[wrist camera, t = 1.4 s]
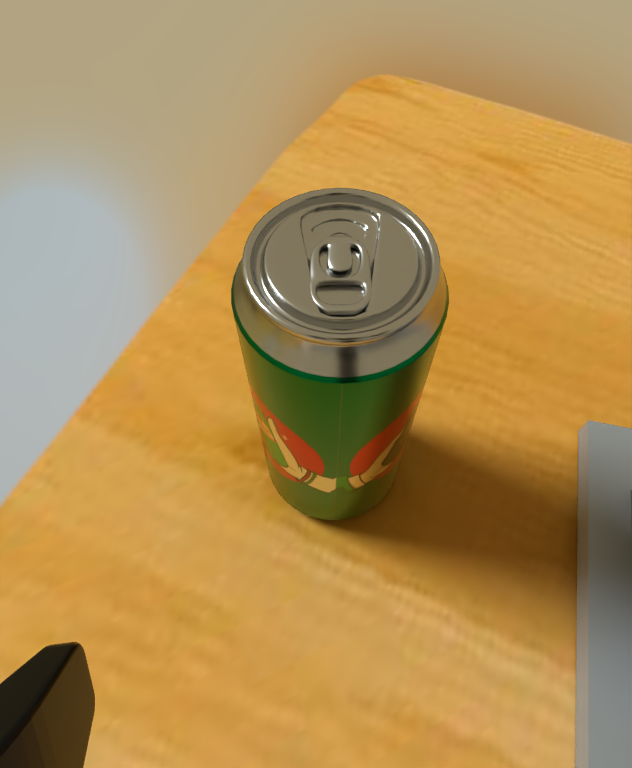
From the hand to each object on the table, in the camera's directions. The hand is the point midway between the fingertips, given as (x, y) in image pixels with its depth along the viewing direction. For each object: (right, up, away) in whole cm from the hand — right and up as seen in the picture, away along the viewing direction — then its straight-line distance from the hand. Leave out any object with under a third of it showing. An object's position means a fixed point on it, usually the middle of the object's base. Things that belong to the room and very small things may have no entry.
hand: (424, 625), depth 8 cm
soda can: (-1, 0, +15) cm, 15 cm away
